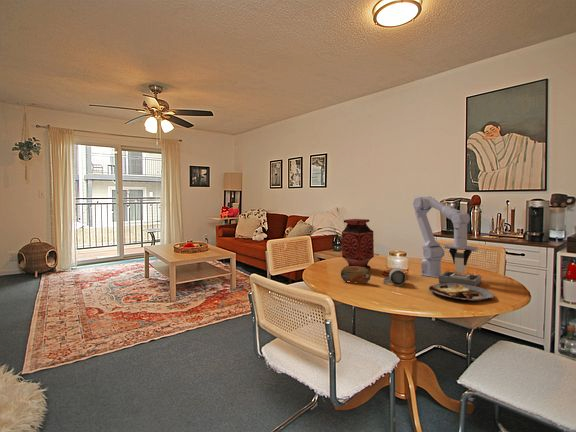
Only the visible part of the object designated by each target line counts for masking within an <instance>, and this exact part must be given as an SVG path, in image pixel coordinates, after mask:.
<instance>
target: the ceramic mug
mask: <svg viewBox="0 0 576 432" xmlns="http://www.w3.org/2000/svg"><path fill="white" fill-rule="evenodd" d="M406 281H407V275H406V273H405V272H404V271H403V270H402V269H400V268H393V269H391V270H390V271H389V274H388V277H385V278H383V280H382V283H383V284H384V285H385V284H389V283H391V284H392V285H393V286H396V287H398V286H399V287H401V286H403V285H404V284H406Z"/></svg>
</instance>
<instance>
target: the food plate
mask: <svg viewBox="0 0 576 432" xmlns="http://www.w3.org/2000/svg"><path fill="white" fill-rule="evenodd" d="M428 290H429V291H430V292H432V293H434V294H437V295H438V296H442V297H445V298H449V299H455V300H460V301H461V300H462V301H465V300H467V301H468V302H469V301H470V302H481V301H483V300H484V301H485V300H487V299H490V298H491V299H493V298H495V295H494V294H493V292H492V291H490V290H488V289H486V288H483V287H481V286H480V287H479V286H477V287H476V286H470V285H465V284H453V283H447V284H444V283H436V284H431V285H430V286H429V287H428Z"/></svg>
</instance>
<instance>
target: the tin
mask: <svg viewBox="0 0 576 432" xmlns="http://www.w3.org/2000/svg"><path fill="white" fill-rule="evenodd" d="M346 266H347V267H346ZM346 266H345V267H343V268H342V269H341V270H340V277H341V279H342V280H343V281H344V282H345V281H350V282H357V283H356V284H358V283H365V284H368V283H369V281H370V280H371V276H372V275H371V271H370V269H367V268H365V267H355V266H348V265H346Z"/></svg>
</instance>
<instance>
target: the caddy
mask: <svg viewBox="0 0 576 432" xmlns="http://www.w3.org/2000/svg"><path fill="white" fill-rule="evenodd" d="M440 283H443V284H447V283H453V284H465V285H470V286H476V287H479V286H480V285H481V284H482V275H477V274H476V275H475V274H469V273H463V272H456V271H444V272H443V273H441V275H439V278H438V284H440Z"/></svg>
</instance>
